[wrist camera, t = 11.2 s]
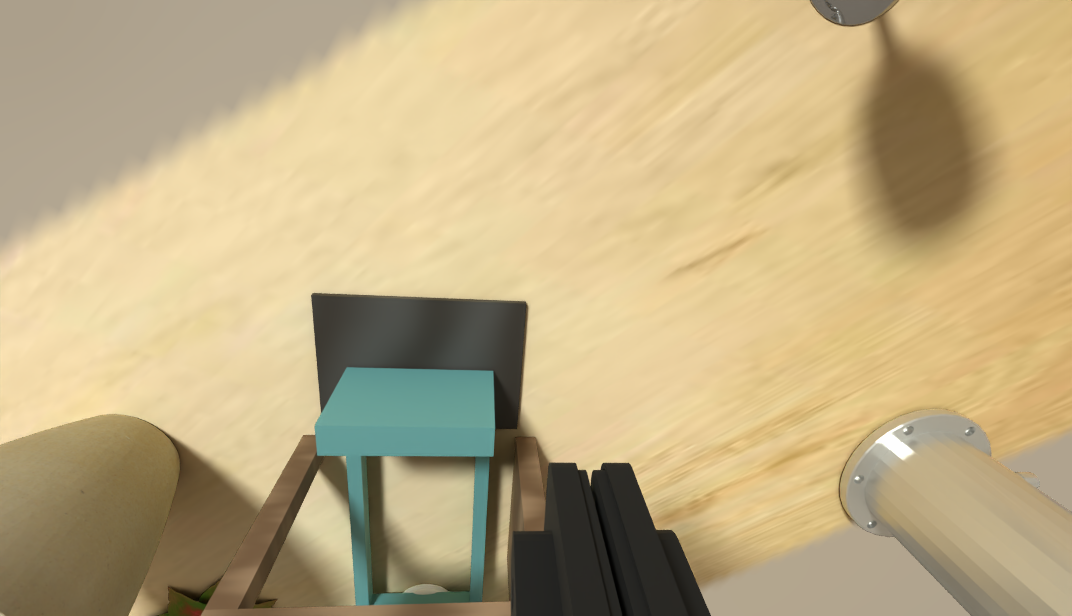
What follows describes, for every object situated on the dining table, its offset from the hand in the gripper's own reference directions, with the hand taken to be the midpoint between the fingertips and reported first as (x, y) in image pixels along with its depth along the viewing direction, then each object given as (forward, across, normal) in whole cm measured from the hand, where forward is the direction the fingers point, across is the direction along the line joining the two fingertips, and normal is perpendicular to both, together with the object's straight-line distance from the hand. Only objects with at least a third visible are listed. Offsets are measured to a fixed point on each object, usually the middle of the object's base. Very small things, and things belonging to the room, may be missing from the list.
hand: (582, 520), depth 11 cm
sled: (+24, +7, +24) cm, 35 cm away
